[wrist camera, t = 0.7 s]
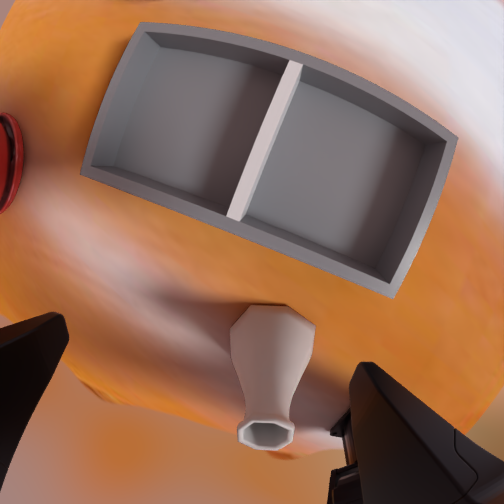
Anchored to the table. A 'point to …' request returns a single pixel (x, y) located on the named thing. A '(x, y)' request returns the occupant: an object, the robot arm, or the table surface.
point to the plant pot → (9, 159)
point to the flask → (269, 371)
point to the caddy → (272, 150)
